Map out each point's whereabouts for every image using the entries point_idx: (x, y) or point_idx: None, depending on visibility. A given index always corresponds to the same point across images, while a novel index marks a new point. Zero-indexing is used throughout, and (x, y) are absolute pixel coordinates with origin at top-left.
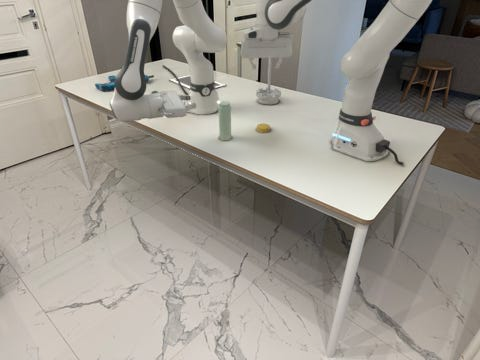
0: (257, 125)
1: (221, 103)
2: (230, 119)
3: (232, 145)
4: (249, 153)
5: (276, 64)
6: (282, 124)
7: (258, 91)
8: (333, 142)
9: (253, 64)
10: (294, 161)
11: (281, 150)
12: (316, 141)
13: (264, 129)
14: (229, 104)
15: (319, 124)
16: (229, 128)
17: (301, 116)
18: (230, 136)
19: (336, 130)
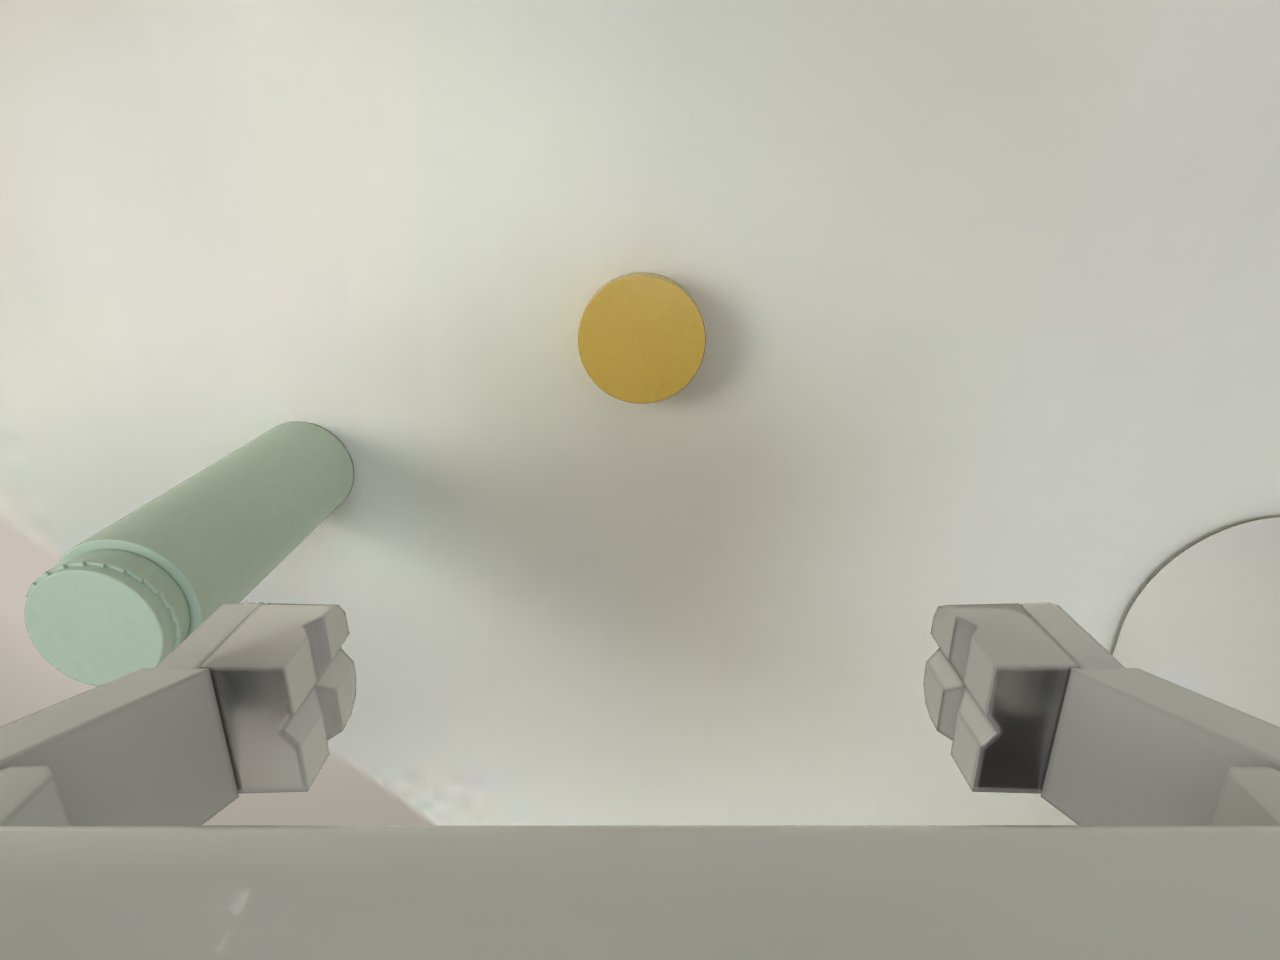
0: (586, 322)
1: (60, 646)
2: (272, 561)
3: (373, 592)
4: (496, 705)
5: (1000, 771)
6: (853, 224)
7: None
8: (1127, 652)
9: (210, 814)
10: (768, 809)
11: (720, 685)
12: (1020, 582)
13: (643, 401)
14: (170, 647)
15: (1216, 257)
16: (301, 541)
17: (1135, 6)
18: (341, 501)
19: (1217, 673)
